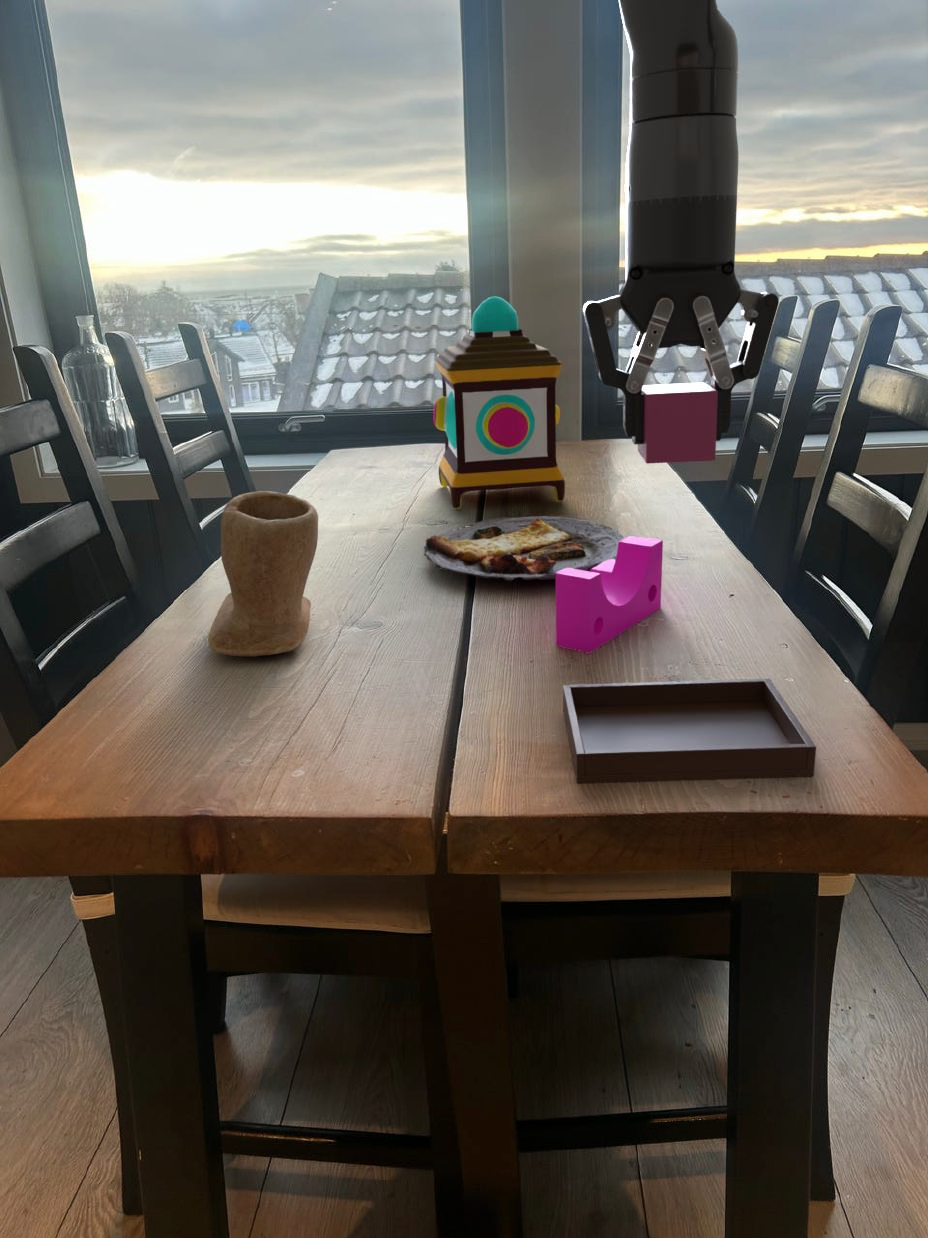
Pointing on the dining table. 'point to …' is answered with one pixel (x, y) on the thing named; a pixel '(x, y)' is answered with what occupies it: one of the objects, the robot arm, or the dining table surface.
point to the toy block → (608, 595)
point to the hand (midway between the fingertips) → (676, 439)
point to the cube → (679, 423)
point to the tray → (684, 731)
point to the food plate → (523, 547)
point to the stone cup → (265, 574)
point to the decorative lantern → (498, 408)
